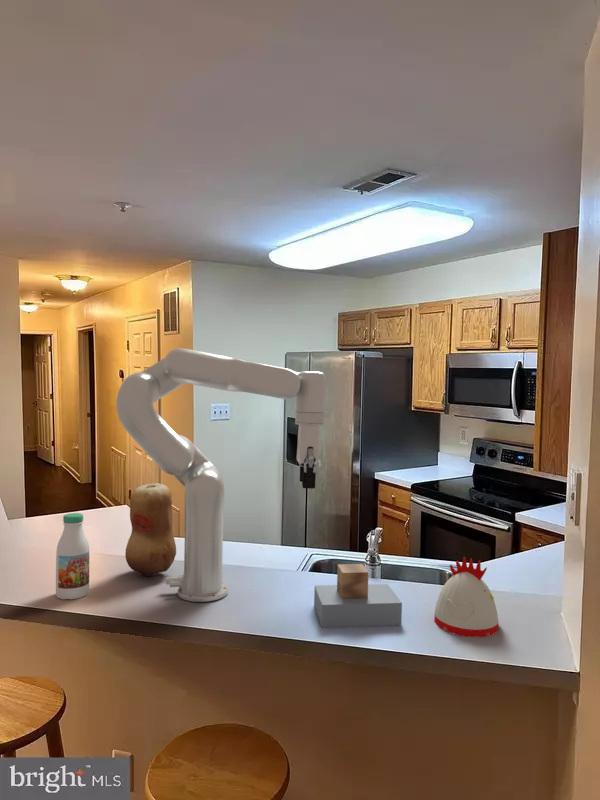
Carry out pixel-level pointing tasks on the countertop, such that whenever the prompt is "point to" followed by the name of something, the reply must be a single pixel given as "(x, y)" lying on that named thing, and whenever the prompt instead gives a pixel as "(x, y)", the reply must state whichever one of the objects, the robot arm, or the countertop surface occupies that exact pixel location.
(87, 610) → the countertop surface
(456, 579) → the kitchen timer
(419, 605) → the countertop surface
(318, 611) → the block
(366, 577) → the walnut cube
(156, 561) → the butternut squash
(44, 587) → the countertop surface
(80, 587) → the milk bottle
